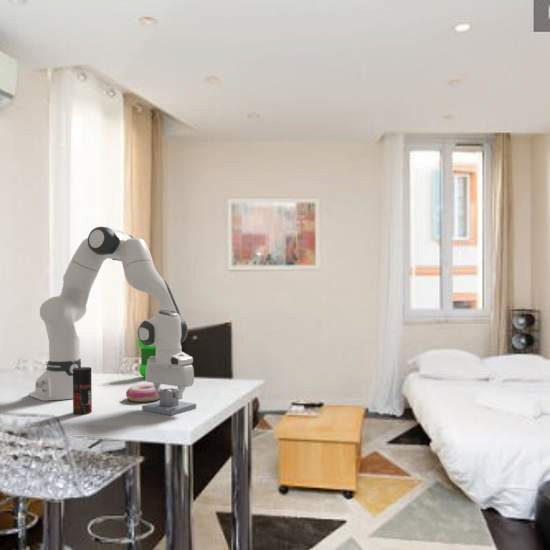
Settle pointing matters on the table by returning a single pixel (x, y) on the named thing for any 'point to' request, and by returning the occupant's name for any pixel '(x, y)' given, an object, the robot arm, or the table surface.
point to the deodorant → (82, 391)
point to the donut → (142, 393)
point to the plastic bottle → (145, 356)
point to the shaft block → (169, 410)
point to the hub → (168, 397)
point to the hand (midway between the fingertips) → (169, 397)
